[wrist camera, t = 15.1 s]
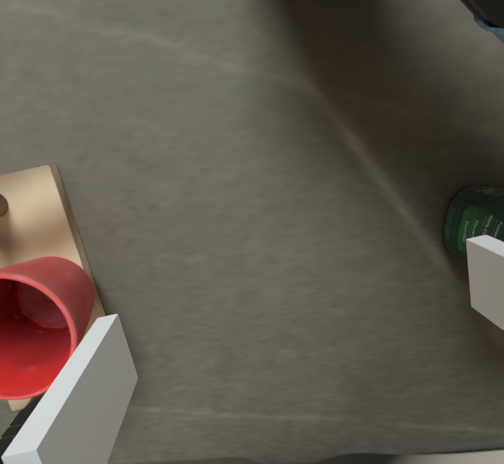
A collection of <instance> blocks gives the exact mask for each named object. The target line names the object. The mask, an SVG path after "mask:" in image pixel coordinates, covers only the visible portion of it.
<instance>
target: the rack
mask: <svg viewBox="0 0 504 464" xmlns="http://www.w3.org/2000/svg"><path fill="white" fill-rule="evenodd" d="M46 256H56V257H62V258H65V259H68V260H70V261H72V262H74V263H76V264H77V265H79V266H80V267H81V268H82V269H83V270H84V271H85V272H86V273H87V274H88V276H89V278H90V279H91V282H92V284H93V287H94V292H95V301H94V306H93V309H92V313H91V316H90V320H89V323H88V326H87V329H86V332H85V334H84V337H85V335H86V334H87V332H88V331H89V330H90V328H91V327H92V325H93V324H94V322H95V321H96V319H97V318H100V317H105V313H104V310H103V307H102V304H101V301H100V298H99V295H98V292H97V289H96V285H95V282H94V279H93V276H92V273H91V270H90V267H89V264H88V261H87V258H86V255H85V252H84V249H83V246H82V242H81V239H80V236H79V233H78V230H77V227H76V224H75V221H74V218H73V215H72V212H71V209H70V206H69V203H68V199H67V196H66V193H65V190H64V187H63V184H62V181H61V178H60V175H59V172H58V169H57V166H56V163H55V164H50V165H46V166H41V167H36V168H32V169H27V170H22V171H18V172H13V173H8V174H4V175H0V268H4V267H7V266H10V265H14V264H17V263H21V262H25V261H29V260H33V259H36V258H40V257H46ZM84 337H83V338H84ZM46 392H47V391H46ZM46 392H44V393H42V394H40V395H37V396H35V397H31V398H27V399H21V400H8V402H9V404H10V407H11V409H12V411H15V410H19V409H24V408H25V407H26V406H27V405H28V404H30V403H31V402H32V401H33V400H34V399H36V398H41V397H43V396H44V395H45V393H46Z"/></svg>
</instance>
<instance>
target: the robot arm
mask: <svg viewBox="0 0 504 464" xmlns="http://www.w3.org/2000/svg"><path fill="white" fill-rule="evenodd" d="M461 2H462V3H463V4H464V5H465V6H466V7H467V8H468V9H469V10H470V12H471V13H472V14H473V15H474V19H475V22H476V23H477V24H478V25H479V26H480V27H481V28H483V29H485V30H486V31H489V32H492V33H493V34H494V35H495V36H496V37H497V38H498V39H500V40H501V41H502V42H503V43H504V0H461ZM466 246H467V259H468V272H469V285H470V298H471V307H473V308H474V309H475V310H477V311H478V312H479V313H481V314H482V315H483V316H485V317H486V318H487V319H489V320H490V321H491V322H493V323H494V324H495V325H497V326H498V327H500V328H501V329H502V330H504V242H502V241H500V240H498V239H495V238H493V237H491V236H488V235H483V236H478V237H473V238H469V239H466ZM137 380H138V376H137V373H136V369H135V366H134V363H133V360H132V357H131V354H130V350H129V347H128V344H127V341H126V338H125V335H124V332H123V328H122V325H121V322H120V319H119V316H118V314H114V315H109V316H105V317H100V318H97V319H96V321H95V322H94V324H93V325H92V327H91V328H90V330H89V331H88V332H87V334H86V335H85V337H84V338H83V340H82V341H81V343H80V344H79V345H78V347H77V348H76V350H75V351H74V353H73V354H72V356H71V357H70V358H69V360H68V361H67V363H66V364H65V366H64V367H63V369H62V370H61V372H60V373H59V374H58V376H57V377H56V379H55V380H54V382H53V383H52V385H51V386H50V387H49V389H48V390H47V392H46V393H45V395H44V396H43V397H41V398H36V399H34V400H33V401H32V402H31V403H30V404H28V405H27V406H26V407H25V408H24V409H23V410H21V411H20V412H19V414H18V415H17V416H16V418H15V419H14V420H13V422H12V423H11V424H10V428H8V429H7V430H6V431H5V433H4V434H3V435H2V439H0V464H107V462H108V459H109V457H110V454H111V451H112V448H113V446H114V443H115V440H116V437H117V435H118V432H119V429H120V426H121V424H122V421H123V418H124V415H125V413H126V410H127V407H128V404H129V402H130V399H131V396H132V393H133V391H134V388H135V385H136V382H137Z"/></svg>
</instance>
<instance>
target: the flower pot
mask: <svg viewBox="0 0 504 464" xmlns="http://www.w3.org/2000/svg"><path fill="white" fill-rule="evenodd" d="M94 301H95V292H94V287H93V284H92V282H91V279H90V278H89V276H88V274H87V273H86V272H85V271H84V270H83V269H82V268H81V267H80V266H79V265H77V264H76V263H74V262H72V261H70V260H68V259H65V258H62V257H56V256H46V257H40V258H36V259H33V260H29V261H25V262H21V263H17V264H14V265H10V266H7V267H4V268H0V399H1V400H21V399H27V398H31V397H35V396H37V395H40V394H42V393H44V392H46V391H47V390H48V389H49V387H50V386H51V385H52V383H53V382H54V380H55V379H56V377H57V376H58V374H59V373H60V372H61V370H62V369H63V367H64V366H65V364H66V363H67V361H68V360H69V358H70V357H71V356H72V354H73V353H74V351H75V350H76V348H77V347H78V345H79V344H80V343H81V341H82V340H83V337H84V334H85V332H86V329H87V326H88V323H89V320H90V316H91V313H92V309H93V306H94Z"/></svg>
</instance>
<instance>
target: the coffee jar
mask: <svg viewBox="0 0 504 464" xmlns="http://www.w3.org/2000/svg"><path fill="white" fill-rule="evenodd" d="M483 235H488V236H491V237H493V238H495V239H498V240H500V241H502V242H504V187H497V186H474V187H469V188H466V189H464V190H462V191H461V192H460V193H458V194H457V195H456V196H455V198H454V199H453V200H452V202H451V204H450V206H449V209H448V212H447V215H446V219H445V224H444V242H445V245H446V247H447V248H448V250H449V251H450V252H452V253H453V254H455V255H456V256H458V257H460V258H462V259H464V260H465V261H467V262H468V259H467V246H466V239H469V238H473V237H478V236H483Z"/></svg>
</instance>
